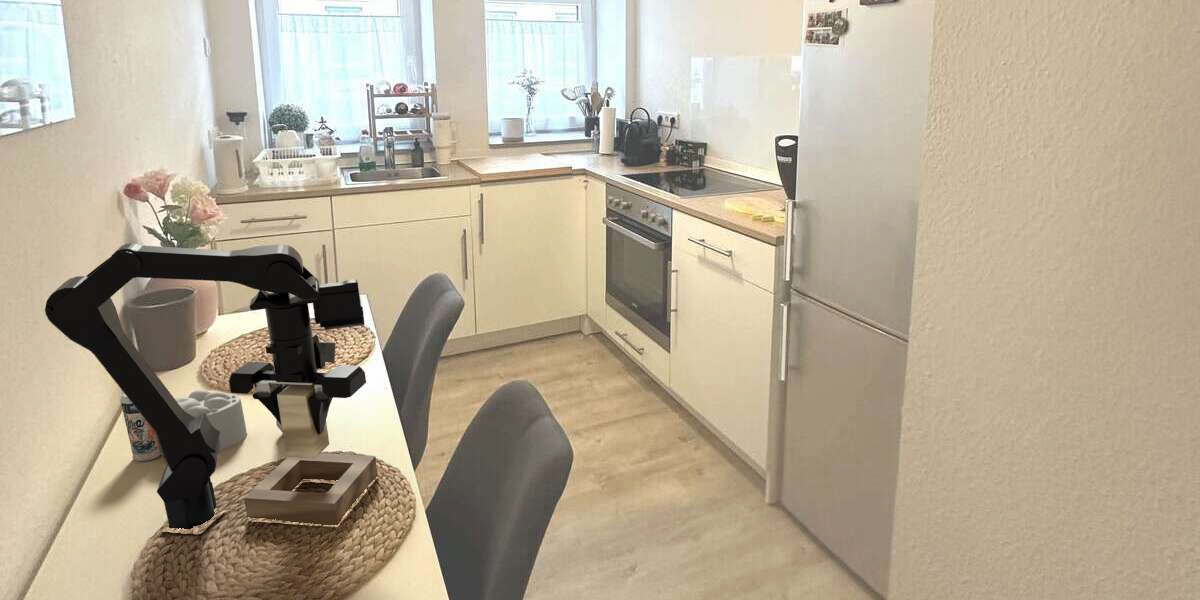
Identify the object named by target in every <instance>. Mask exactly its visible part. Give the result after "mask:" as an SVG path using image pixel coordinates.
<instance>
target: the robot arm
mask: <svg viewBox="0 0 1200 600" xmlns="http://www.w3.org/2000/svg"><path fill="white" fill-rule="evenodd" d="M135 278H139V279H140V278H143V279H163V280H164V279H165V280H166V279H168V280H184V281H185V280H186V281H206V282H207V281H211V282H227V283H228V282H229V283H234V284H238V285H242V286H246V287H248V288H250V289H254V290H257V293H256V294H255V296H254V297H253V298H251V299H250V304H249V309H250V310H251V311H257V310H265V316H266V322H267V329H268V335H269V342H270V343H269V344H268V345H266V346H265V353H266V354H268V355H270V354H271V355H272V363H273V364H272V363H270V362H265V361H264V362H263V361H262V362H260V361H259V362H258V361H248V362H247V363H246V364H244V365H242V366H241V367H239V368H237V369H236V370H234V371H233V372H232V373H231V374H230V375H229V378H228V380H227V381H228V386H229V387H228V388H229V392H230V394H240V395H241V394H242V395H243V394H247V395H248V394H250V392H252V390H253V389H254V393H253V394H252V398H253V399H254V400H258V401H259V402H260V403H261V404H262V405H263V406H264V407H265V408H266V409H267V410H268V411H269V412H270V414H272V416H273V417H274V419H275V420H276V419H277V421H278V422H279V423H280V424H281V418H280V412H279V405H278V399H277V394H279V393H280V392H281V391H283V390H284V389H285V388H286V387H288V386H289V385H301V386H315V393H314V394H313V395H312V396H311V397H309V398H308V402H309V406H310V410H311V414H312V418H313V422H314V426H315V429H316V431H317V434H321V433H322V432H323V431H324V427H325V422H326V423H327V418H328V414H329V409H330V406H331V403H332V401H333V398H334V399H335V398H336V399H347V398H350V397H352V396H353V395H354V394H355V393H357V392H358V391H359V390H360V389H361V388H363V386H364V385H365V384H366V383H367V380H366V379H367V378H366V372H365V370H364V369H363V368H362V367H361V366H360V365H343V364H341V365H339V364H338V365H337V366H336V367H334V368H333V369H332V370H331V371H329V372H318V370H320V369H323V368H325V367H326V363H332V364H334V363H335V360H336V359H335V358H336V342H333V341H332V342H331V341H320V339H319V336H318V333H313V331H312V323H311V316H310V309H309V308H310V307H309V304H312V306H313V307H312V308H313V314H314V322H315V325H319V327H320V328H324V331H329V330H337V329H344V328H353V327H361V326H365V317H364V307H363V302H362V298H361V296H360V290H359V288H360V287H359V282H358V279H357V278H353V279H345V280H344V281H339V282H329V283H321V284H320V281H319V279H318V278H317V277H316V276H315V275H314V274H313V273H311V271H310V270H308V269H307V267H305V266H304V264H303V258H302V255H301V254H300V253H299V252H298V251H297V250H296V249H295V248H294V247H293V246H290V245H288V244H284V243H282V244H281V243H279V244H278V243H277V244H269V245H260V246H259V245H258V246H253V247H249V248H243V249H235V250H227V249H226V250H224V249H212V248H211V249H210V248H209V249H208V248H206V249H205V248H192V247H191V248H189V247H188V248H187V247H171V246H158V245H156V246H155V245H141V244H138V243H134V242H130V243H125V244H123V245H120V246H119V247H118V249H116V250H115V252H113V253H112V254H111V256H110V257H109V258H107V259H105V261H103V262H102V263H100V264H99V265H98V266H96V267H95V268H94V269H93V270H92V271H90V272H89V273H87V275H84V276H83V275H82V276H81V275H80V276H79V275H78V276H74V277H70V278H69V279H67V280H66V281H64V282H63V283H62V284H61V285H59V286H58V288H57V289H55V291H53V292H52V293H51V294H50V295H49V297H48V298H47V300H46V303H45V308H44V313H45V316H46V318H47V320H48V321H49V322H50V323H51V324H52V325H53V326H54V327H55V328H56V329H57V330H58V331H60V333H62V334H63V335H64V336H65V337H66V338H67V339H68V340H69V341H72V342H74V343H75V344H76V345H78V346H80V347H82V348H84V349H86V350H88V351H89V352H91V353H92V354H93V356H94V357H95V359H96V360H98V362H99V363H100V364H101V365H102V367H103V368H104V370H105V371H106V372H107V374H108V375H109V376H110V377H111V378H112V380H113V381H114V382H115V384H117V386H118V387H119V388H120V389H121V391H122V393H125V395H126V396H127V397H128V398H129V400H130V401H131V402H132V404H133V405H134V406H135V407H136V409H137V410H138V411H139V412H140V414H141V415H142V416H143V417H144V419H145V420H146V421H147V422H148V424H149V425H150V426H151V428H152V429H153V430H154V431H155V433H156V435H157V437H158V440H159V444H160V447H161V450H162V456H163V458H164V460H165V462H166V463H165V466H164V469H163V472H162V475H161V478H160V481H159V485H158V486H157V489H156V493H157V495H158V496H159V497H160V499H161V500H162V502H163V504H164V509H165V513H166V519H167V523H169V528H178V529H179V528H181V529H182V528H184V529H191V528H193V526H197V525H201V524H203V523H205V522H206V521H208V520H210V519H211V518H212V517H213V516H214V514H215V512H214V509H215V508H217V502H216V500H217V499H216V497H215V496H216V495H215V492H214V491H215V490H214V485H213V482H212V480H211V477H212V475H213V474H214V473H215V471H216V468H217V462H218V459H219V454H220V451H219V450H220V440H219V435H220V431H219V430H217V429H215V428H214V427H213V426H212V425H211V423H210V421H209V419H208V417H207V415H206V414H205V413H202V414H201V415H199V416H198V417H197V418H195V417H193V416H192V415H190V414H188V413H186V412H185V411H184V410H183V409H182V408H181V407H180V405H179V404H178V403H177V401H176V400H175V399H176V398H175V397H174V395H172V393H171V392H170V390H169V389H168V388H167V387H166V386H165V384H164V382H163V381H162V380H161V379H160V378H159V376H158V375H157V373H156V372H155V371H154V370H153V368H152V367H151V366H150V365H149V363H148V362H147V361H146V359H145V358H144V357H143V356H142V354H141V353H140V352H139V350H138V349H137V347H136V346H135V345H134V343H133V342H132V341H131V340H130V338H129V337H128V336H127V334H126V333H125V332H124V329H123V327H122V324H121V323H122V322H121V320H120V317H119V313H118V310H117V307H116V306H115V303H114V302H113V299H112V298H111V297H113V296H114V295H115V294H116V293H117V292H118V291H119V290H121V289H122V288H123V287H124V286H126V284H128V283H129V282H130V281H132V280H133V279H135ZM274 369H275V371H274ZM281 426H282V424H281ZM162 528H163V526H161V528H160V529H162Z"/></svg>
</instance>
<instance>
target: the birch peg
mask: <svg viewBox="0 0 1200 600" xmlns="http://www.w3.org/2000/svg"><path fill="white" fill-rule="evenodd" d="M314 393H315V386H301V385H289V386H288V387H286V388H285V389H284V390H283V391H281V392H280V393H279V394H277V399H278V405H279V412H280V418H281V424H282V431H283V433H282V436H283V441H284V442H283V443H284V449H285V456H286V458H287V457H297V458H314V459H315V458H316V457H317V456H318V455H319V454H320V453H322V452H324V451H325V449H326V448H327V447H328V446H329V445H330V440H329V431H328V423H327V421H326V422H325V427H324V431H323V432H322V433H321V434H317V431H316V429H315V426H314V422H313V418H312V414H311V410H310V406H309V402H308V398H309V397H311V396H312V395H313V394H314Z"/></svg>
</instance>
